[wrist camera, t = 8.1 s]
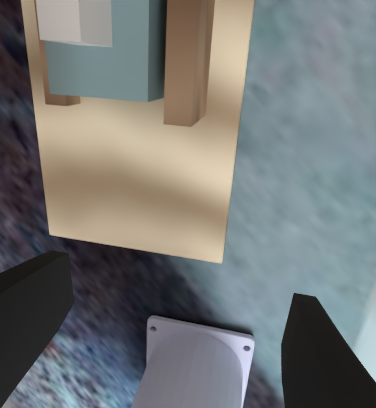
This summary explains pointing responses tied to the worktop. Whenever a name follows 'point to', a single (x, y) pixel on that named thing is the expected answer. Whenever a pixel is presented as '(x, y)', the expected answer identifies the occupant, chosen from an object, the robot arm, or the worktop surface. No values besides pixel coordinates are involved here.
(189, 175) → the cleat board
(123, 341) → the worktop surface
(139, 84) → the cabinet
